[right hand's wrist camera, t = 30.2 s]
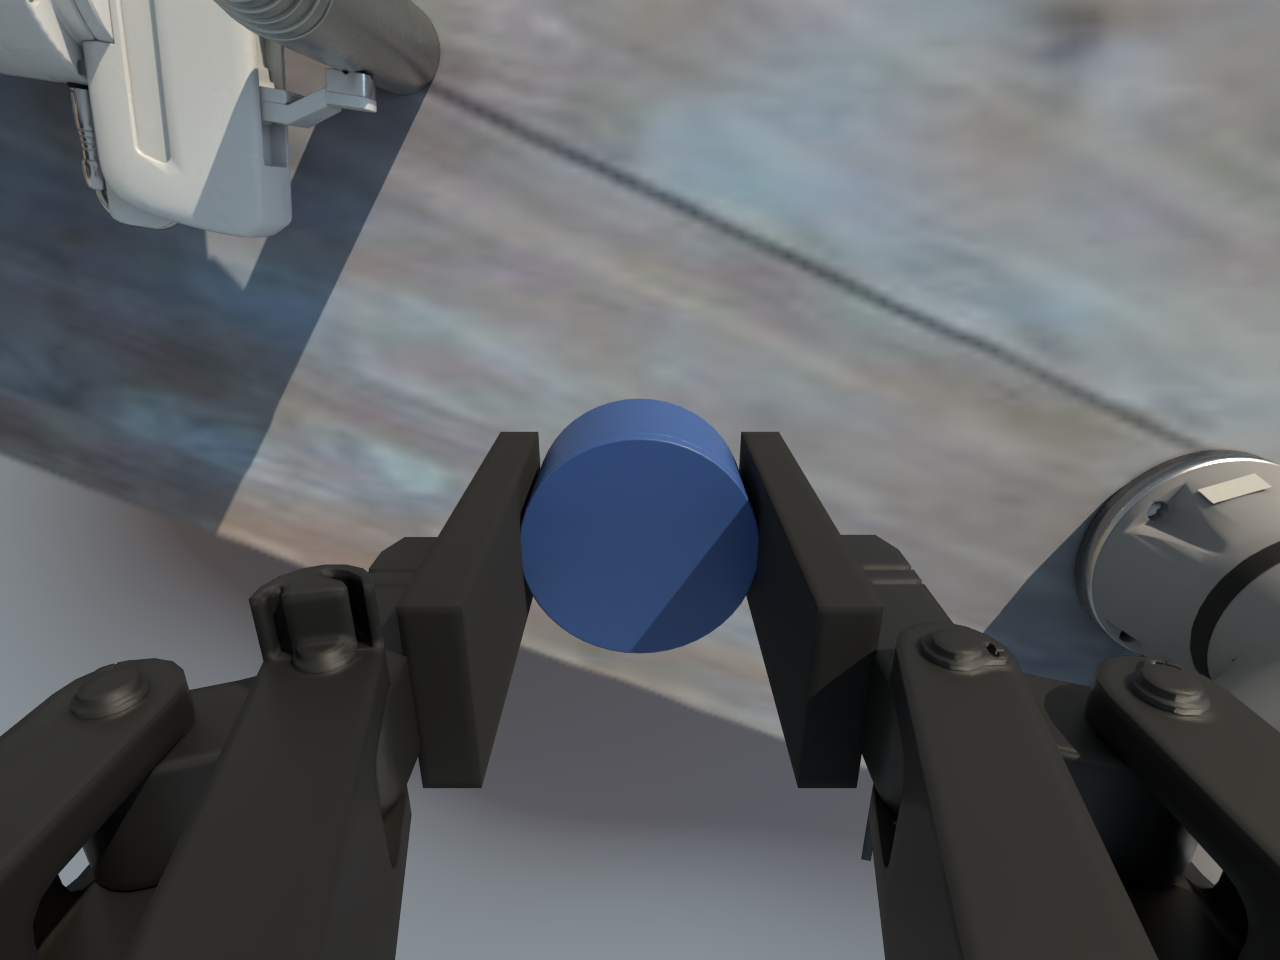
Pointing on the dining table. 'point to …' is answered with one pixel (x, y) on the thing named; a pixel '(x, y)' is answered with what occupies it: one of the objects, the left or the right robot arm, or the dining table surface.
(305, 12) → the bottle
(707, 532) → the cap
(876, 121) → the dining table surface
